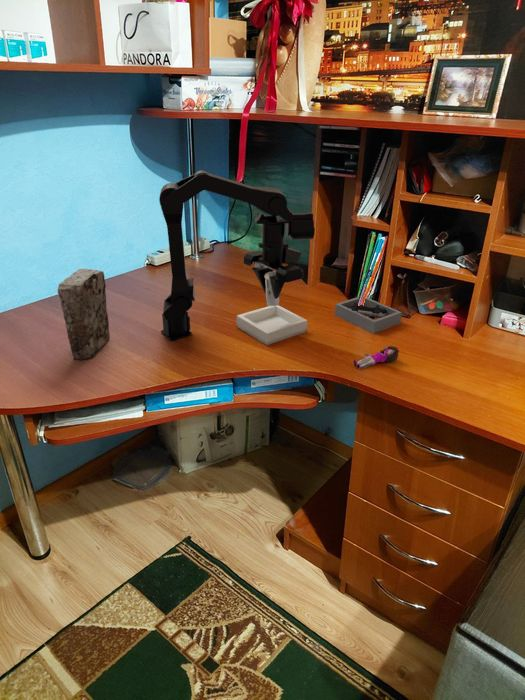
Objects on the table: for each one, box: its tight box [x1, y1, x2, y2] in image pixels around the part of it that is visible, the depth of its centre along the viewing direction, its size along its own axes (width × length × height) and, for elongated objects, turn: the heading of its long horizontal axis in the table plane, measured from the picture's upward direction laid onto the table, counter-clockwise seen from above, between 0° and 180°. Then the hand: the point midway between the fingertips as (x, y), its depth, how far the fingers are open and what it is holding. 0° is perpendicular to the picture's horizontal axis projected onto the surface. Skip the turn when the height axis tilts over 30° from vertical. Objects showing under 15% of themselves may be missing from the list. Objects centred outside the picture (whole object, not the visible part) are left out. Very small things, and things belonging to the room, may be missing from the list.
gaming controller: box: [349, 302, 387, 320], centre depth 155 cm, size 11×4×7 cm
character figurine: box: [353, 345, 400, 370], centre depth 132 cm, size 6×5×12 cm
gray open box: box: [334, 297, 403, 334], centre depth 155 cm, size 11×15×4 cm
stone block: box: [57, 268, 111, 361], centre depth 133 cm, size 13×7×20 cm, turn 175°
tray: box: [236, 304, 308, 346], centre depth 149 cm, size 14×14×4 cm
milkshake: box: [264, 271, 281, 307], centre depth 143 cm, size 4×5×10 cm
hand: (271, 295), depth 145 cm, fingers closed on milkshake, 4 cm apart
